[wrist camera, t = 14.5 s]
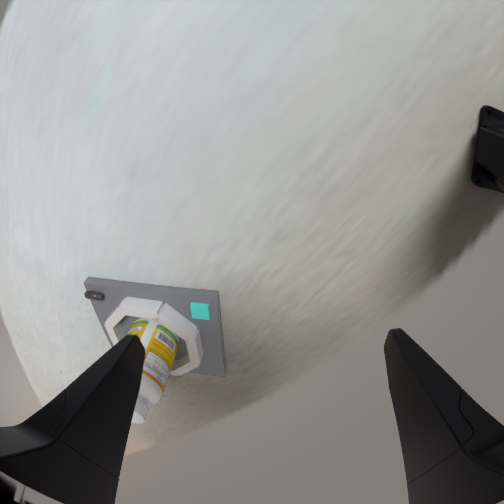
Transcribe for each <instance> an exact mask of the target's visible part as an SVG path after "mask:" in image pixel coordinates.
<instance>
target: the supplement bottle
mask: <svg viewBox="0 0 504 504" xmlns="http://www.w3.org/2000/svg"><path fill="white" fill-rule="evenodd" d="M127 334H134V335H137V336H139V338H140V340H141V342H142V344H143V346H144V348H145V360H144V366H143V372H142V379H141V385H140V390H139V394H138V398H137V402H136V405H135V409H134V413H133V417H132V421H131V422H132V423H137V424H141V423H144V421H145V419H146V416H147V414H148V410H149V408H148V406H153V405H155V404H157V403H158V402H159V401H160V399H161V397H162V394H163V391H164V388H165V385H166V382H167V379H168V377H169V374H170V371H171V368H172V365H173V362H174V360H175V357H176V354H177V351H178V348H179V345H180V341H179V337H178V335H176V334H175V333H173V332H172V331H171V330H169V329H168V328H167V327H165V326H164V325H163V324H161V323H160V322H159V321H157V320H153V319H146V318H139V319H137V320H136V321H134V323H133V324H132V326H131V327H130V329H129V331H128V333H127Z"/></svg>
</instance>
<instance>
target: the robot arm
mask: <svg viewBox="0 0 504 504" xmlns="http://www.w3.org/2000/svg"><path fill="white" fill-rule="evenodd" d="M487 110H488V111H489V113H488V114H487ZM477 177H478V180H477V181H476V179H477ZM471 180H472V183H473V184H475V185H476V186H480V187H484V188H488V189H492V190H495V191H499V192H503V193H504V112H502V111H500V110H498V109H495V108H493V107H491V106H488V105H484V106H483V107H482V114H481V123H480V131H479V138H478V145H477V151H476V157H475V162H474V167H473V172H472V177H471ZM384 353H385V360H386V367H387V375H388V382H389V389H390V393H391V398H392V402H393V407H394V411H395V416H396V421H397V426H398V431H399V436H400V442H401V447H402V453H403V459H404V465H405V472H406V479H407V488H408V497H409V504H504V426H503V425H502V424H501V423H499V422H498V421H497V420H496V419H495V418H493V417H492V416H491V415H490V414H489V413H488V412H486V411H485V410H484V409H483V408H482V407H481V406H480V405H479V404H477V403H476V402H475V401H474V400H473V399H472V398H471V397H470V396H469V395H468V394H467V393H466V392H465V391H464V390H463V389H462V388H461V387H460V386H459V385H458V384H457V383H456V381H455V380H453V378H452V377H450V375H448V373H446V372H445V371H444V369H443V368H442V367H441V366H440V365H438V364H437V363H436V362H435V361H434V360H433V359H432V358H431V357H430V356H429V355H428V354H427V353H426V352H425V351H424V350H423V349H422V348H421V347H420V346H419V345H418V344H417V343H416V342H415V341H414V340H413V339H412V338H410V336H408V335H407V334H406V333H405V332H404V331H403V330H402V329H400V328H397V329H391V330H390V331H389V332H388V335H387V338H386V341H385V345H384ZM144 360H145V348H144V346H143V344H142V342H141V340H140V338H139V336H137V335H134V334H127V335H126V336H124V337H123V338H122V339H121V340H120V341H119V342H118V343H116V344H115V345H114V346H113V347H112V348H111V349H110V350H108V351H107V352H106V353H105V354H104V355H103V356H102V357H100V358H99V359H98V360H97V361H96V362H95V363H94V364H92V365H91V366H90V367H89V368H88V369H87V370H86V371H85V372H83V373H82V374H81V375H80V376H79V377H78V378H77V379H76V380H74V381H73V382H72V383H71V384H70V385H69V386H68V387H67V388H66V389H64V390H63V391H62V392H61V393H60V394H59V395H58V396H56V397H55V398H54V399H53V400H52V401H51V402H49V403H48V404H47V405H45V406H44V407H43V408H42V409H40V410H39V411H37V412H36V413H35V414H33V415H32V416H31V417H29V418H28V419H27V420H25V421H24V422H22V423H21V424H19V425H16V426H11V427H0V504H115V498H116V492H117V486H118V481H119V476H120V470H121V466H122V461H123V456H124V451H125V447H126V443H127V438H128V434H129V430H130V425H131V421H132V417H133V413H134V409H135V405H136V402H137V398H138V394H139V390H140V385H141V379H142V372H143V366H144Z"/></svg>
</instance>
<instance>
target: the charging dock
mask: <svg viewBox="0 0 504 504" xmlns="http://www.w3.org/2000/svg"><path fill="white" fill-rule="evenodd" d="M84 285H85V287H86V290H87V291H86V292H85V297H86V298H88V299H90V300H91V302H92V305H93V307H94V310H95V312H96V314H97V316H98V319H99V321H100V323H101V325H102V328H103V330H104V332H105V334H106V336H107V338H108V340H109V342H110V345H111V347H113V346H114V345H115V344H116V343H118V342H119V341H120V340H121V339H122V338H123V337H124V336H126V335H127V333H128V331H129V329H130V327H131V326H132V324H133V323H134V321H136V320H137V319H139V318H146V319H153V320H157V321H159V322H160V323H161V324H163V325H164V326H165V327H167V328H168V329H169V330H171V331H172V332H173V333H175V334H176V335H178V337H179V341H180V345H179V348H178V351H177V354H176V357H175V360H174V362H173V365H172V368H171V371H170V374H169V375H173V376H177V375H178V376H181V375H183V374H185V373H187V372H192V373H199V374H206V375H213V376H221V377H225V374H226V363H225V353H224V344H223V334H222V324H221V313H220V302H219V291H212V290H201V289H190V288H180V287H170V286H160V285H151V284H142V283H133V282H125V281H117V280H109V279H101V278H94V277H88V278H87V279H86V280H85V282H84Z"/></svg>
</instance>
